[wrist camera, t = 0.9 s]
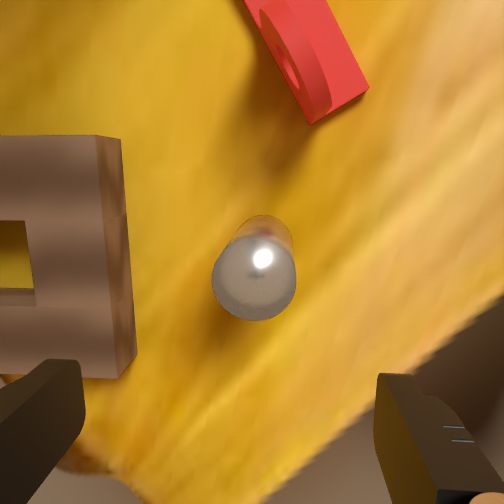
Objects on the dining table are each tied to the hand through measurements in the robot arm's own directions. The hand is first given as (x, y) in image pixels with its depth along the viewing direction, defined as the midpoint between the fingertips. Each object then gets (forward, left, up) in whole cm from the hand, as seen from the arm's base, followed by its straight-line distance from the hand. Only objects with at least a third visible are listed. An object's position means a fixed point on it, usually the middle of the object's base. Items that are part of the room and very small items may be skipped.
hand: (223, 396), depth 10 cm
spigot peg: (0, 0, -20) cm, 20 cm away
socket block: (+1, -20, -20) cm, 28 cm away
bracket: (-15, +2, -21) cm, 26 cm away
